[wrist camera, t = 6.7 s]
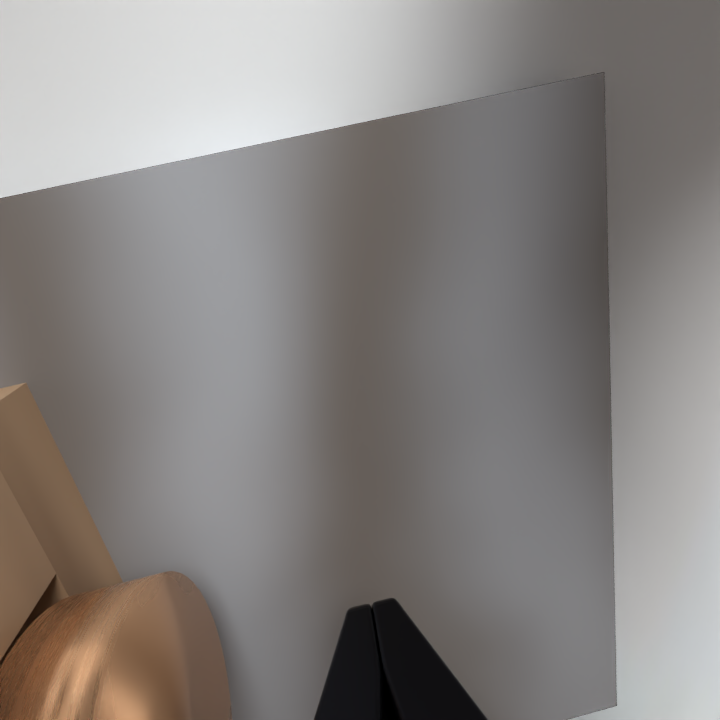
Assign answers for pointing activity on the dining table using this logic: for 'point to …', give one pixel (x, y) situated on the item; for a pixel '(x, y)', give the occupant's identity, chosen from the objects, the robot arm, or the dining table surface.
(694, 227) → the dining table surface
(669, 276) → the dining table surface
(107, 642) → the shaft
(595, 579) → the wooden block on base
